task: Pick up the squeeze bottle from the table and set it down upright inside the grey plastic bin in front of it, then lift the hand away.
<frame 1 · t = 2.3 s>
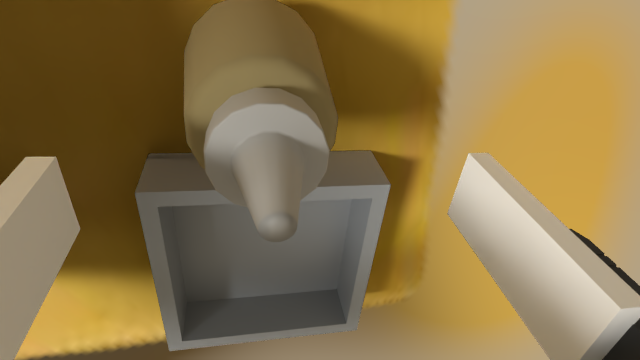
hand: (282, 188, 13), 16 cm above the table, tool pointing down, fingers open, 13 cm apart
squeeze bottle: (252, 50, 26), on the table
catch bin: (265, 234, 35), on the table
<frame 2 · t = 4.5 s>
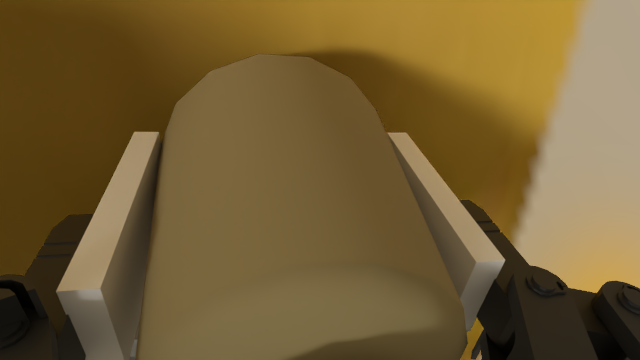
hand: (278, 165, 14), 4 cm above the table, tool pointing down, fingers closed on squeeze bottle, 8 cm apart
squeeze bottle: (271, 119, 17), on the table, touching gripper
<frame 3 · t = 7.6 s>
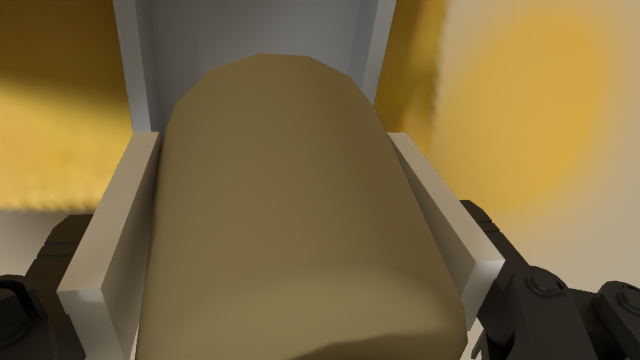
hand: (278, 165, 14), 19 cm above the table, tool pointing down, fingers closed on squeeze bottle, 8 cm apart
squeeze bottle: (271, 118, 17), point 15 cm above the table, touching gripper
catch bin: (256, 63, 31), on the table
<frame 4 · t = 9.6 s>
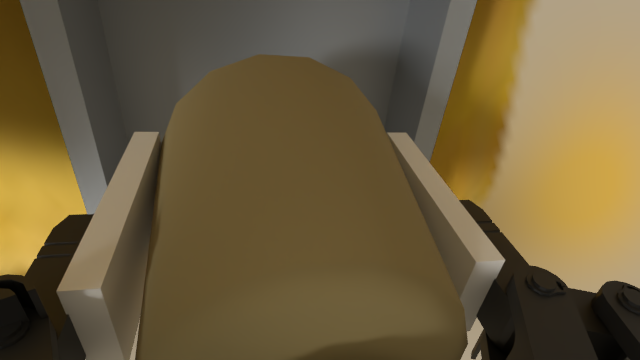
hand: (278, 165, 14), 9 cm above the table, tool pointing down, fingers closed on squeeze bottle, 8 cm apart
squeeze bottle: (271, 119, 17), point 5 cm above the table, touching gripper
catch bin: (262, 77, 21), on the table
when the fingers open (6 cm above the table, at t = 11.1 s): squeeze bottle drops 1 cm, resting on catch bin.
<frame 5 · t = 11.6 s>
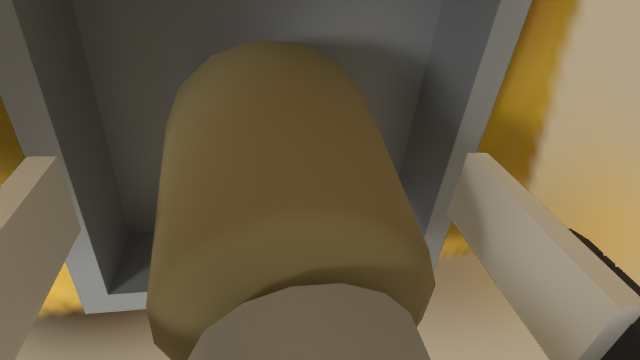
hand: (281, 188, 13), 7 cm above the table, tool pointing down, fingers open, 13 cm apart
squeeze bottle: (267, 105, 18), point 1 cm above the table, touching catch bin
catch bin: (268, 101, 19), on the table
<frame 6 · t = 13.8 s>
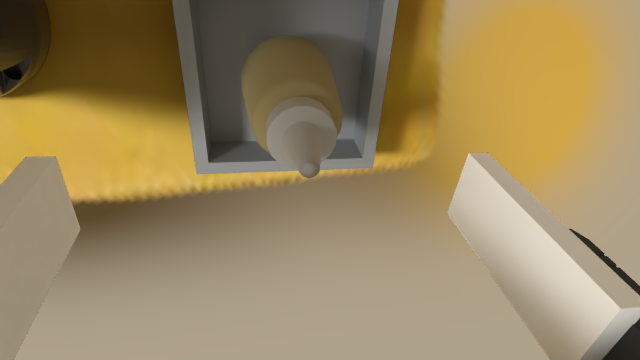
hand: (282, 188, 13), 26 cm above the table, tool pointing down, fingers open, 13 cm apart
squeeze bottle: (284, 69, 36), point 1 cm above the table, touching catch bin
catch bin: (284, 67, 37), on the table
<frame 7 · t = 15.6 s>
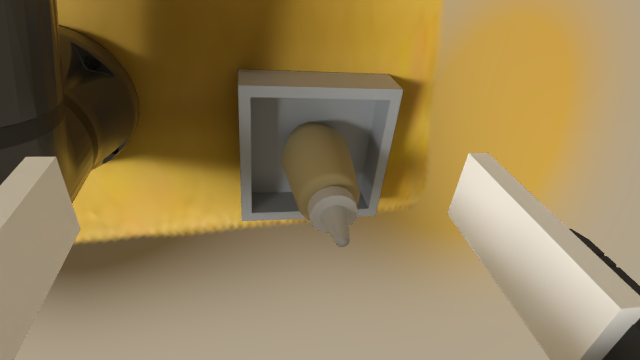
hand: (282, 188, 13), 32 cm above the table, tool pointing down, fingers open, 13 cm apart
squeeze bottle: (310, 141, 48), point 1 cm above the table, touching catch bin
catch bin: (310, 139, 48), on the table
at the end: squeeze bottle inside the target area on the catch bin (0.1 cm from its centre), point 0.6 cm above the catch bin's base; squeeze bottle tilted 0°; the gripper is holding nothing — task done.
